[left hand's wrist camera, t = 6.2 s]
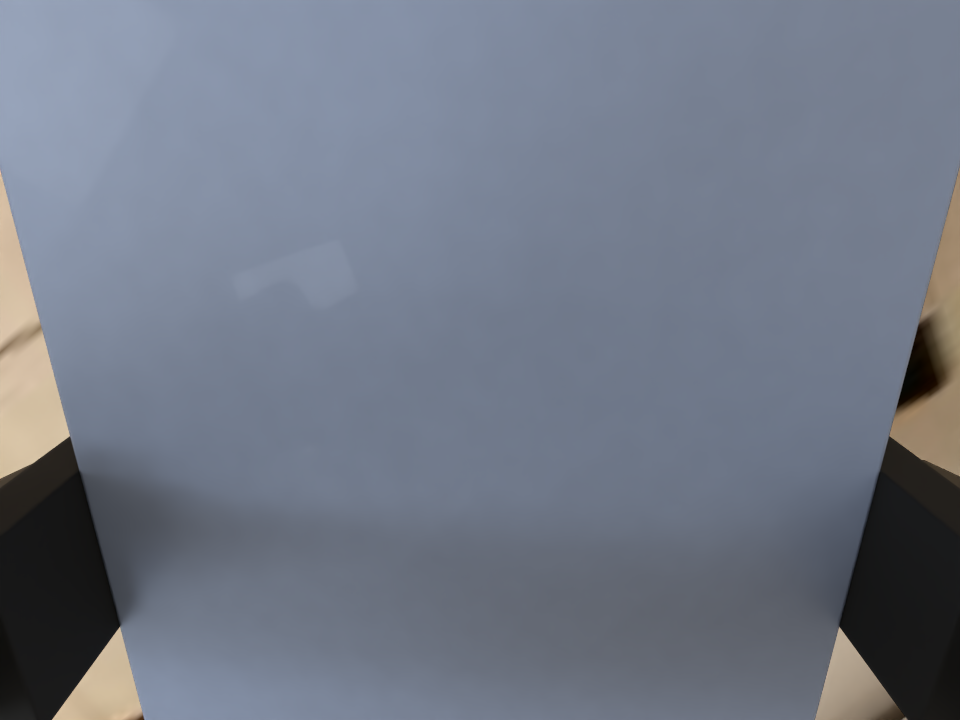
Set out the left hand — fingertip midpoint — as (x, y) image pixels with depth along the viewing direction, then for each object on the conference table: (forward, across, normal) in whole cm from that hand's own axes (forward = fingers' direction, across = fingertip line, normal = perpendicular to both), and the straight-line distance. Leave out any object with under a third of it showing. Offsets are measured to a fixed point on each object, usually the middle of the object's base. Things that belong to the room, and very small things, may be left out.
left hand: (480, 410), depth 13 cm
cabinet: (+5, 0, -6) cm, 8 cm away
